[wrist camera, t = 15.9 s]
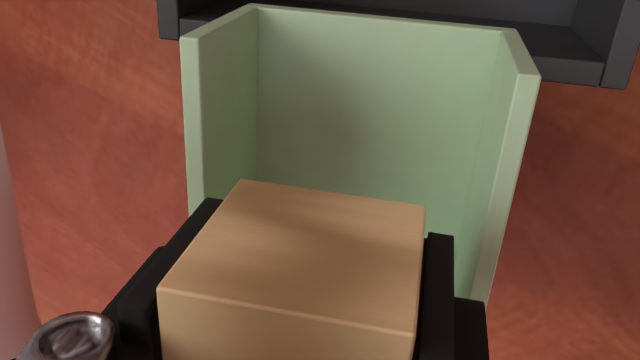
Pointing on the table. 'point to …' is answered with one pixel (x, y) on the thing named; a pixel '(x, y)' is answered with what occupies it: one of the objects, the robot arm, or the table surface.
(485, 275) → the scoop box
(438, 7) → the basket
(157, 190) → the table surface
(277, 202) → the block
